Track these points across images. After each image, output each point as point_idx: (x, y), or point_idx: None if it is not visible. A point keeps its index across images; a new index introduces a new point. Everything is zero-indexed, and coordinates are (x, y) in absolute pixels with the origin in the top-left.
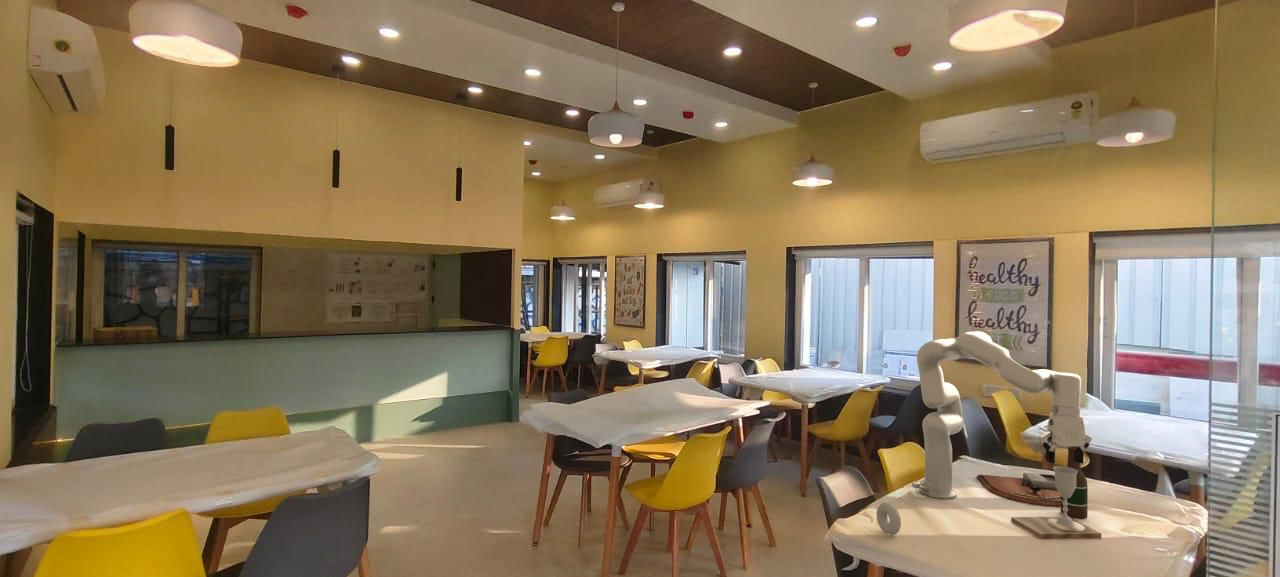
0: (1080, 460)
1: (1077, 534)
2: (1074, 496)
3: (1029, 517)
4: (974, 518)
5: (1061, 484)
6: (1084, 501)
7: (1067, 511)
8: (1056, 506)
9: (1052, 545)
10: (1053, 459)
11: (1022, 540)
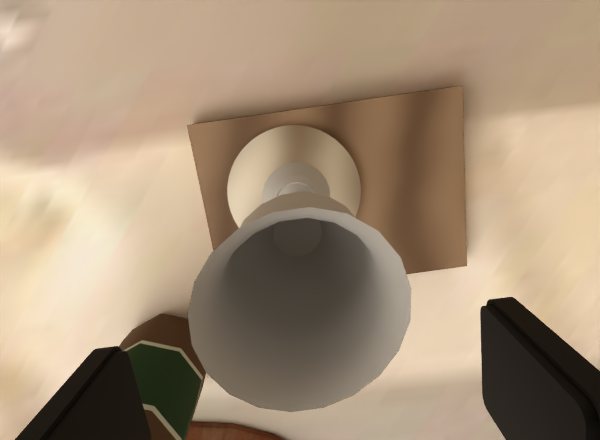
0: (110, 377)
1: (294, 110)
2: (159, 373)
3: None
4: (587, 275)
5: (356, 218)
6: None
7: None
8: (191, 423)
9: (448, 17)
10: (529, 322)
11: (542, 60)
